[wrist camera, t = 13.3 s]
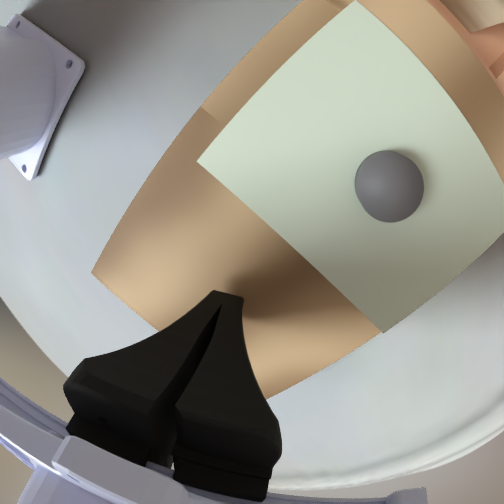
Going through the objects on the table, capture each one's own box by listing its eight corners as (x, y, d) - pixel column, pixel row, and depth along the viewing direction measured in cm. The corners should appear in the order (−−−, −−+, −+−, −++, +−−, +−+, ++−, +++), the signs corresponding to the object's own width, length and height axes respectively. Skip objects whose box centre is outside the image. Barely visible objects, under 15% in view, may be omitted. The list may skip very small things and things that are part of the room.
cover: (213, 153, 10) (189, 165, 8) (347, 17, 7) (358, -8, 5) (375, 305, 12) (385, 344, 10) (495, 201, 9) (527, 222, 7)
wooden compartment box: (110, 255, 16) (71, 291, 12) (342, -16, 8) (354, -57, 5) (265, 377, 18) (256, 426, 15) (508, 186, 10) (554, 212, 7)
